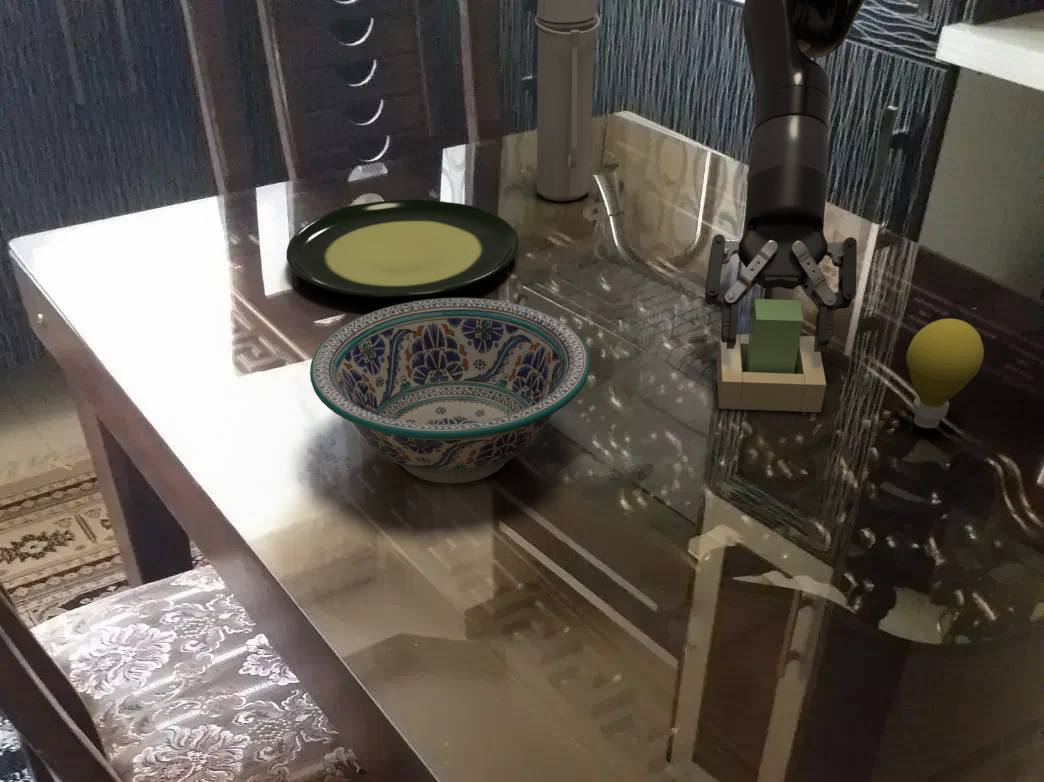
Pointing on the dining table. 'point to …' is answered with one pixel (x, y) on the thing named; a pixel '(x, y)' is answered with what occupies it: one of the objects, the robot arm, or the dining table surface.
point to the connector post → (774, 336)
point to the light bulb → (942, 366)
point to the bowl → (450, 382)
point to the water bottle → (565, 96)
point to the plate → (402, 248)
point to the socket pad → (770, 380)
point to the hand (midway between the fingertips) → (775, 348)
